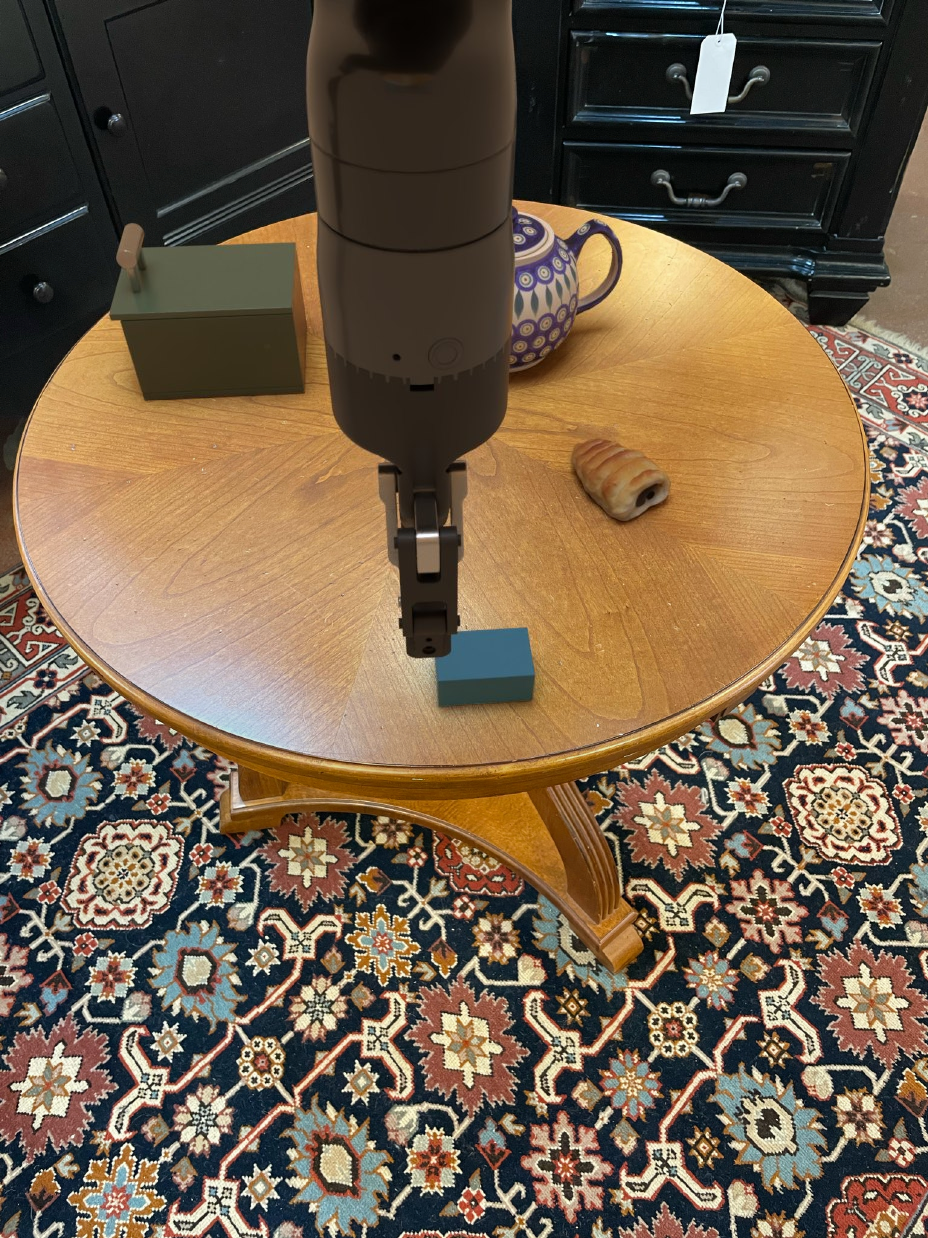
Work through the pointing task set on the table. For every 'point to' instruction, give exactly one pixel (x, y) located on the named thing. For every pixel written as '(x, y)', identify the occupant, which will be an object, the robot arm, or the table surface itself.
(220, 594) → the table surface
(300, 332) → the bin
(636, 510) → the pastry
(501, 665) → the blue rectangular block
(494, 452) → the table surface
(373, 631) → the table surface
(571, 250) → the teapot
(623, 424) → the table surface
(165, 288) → the lid
